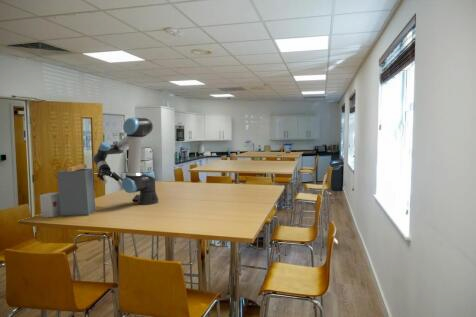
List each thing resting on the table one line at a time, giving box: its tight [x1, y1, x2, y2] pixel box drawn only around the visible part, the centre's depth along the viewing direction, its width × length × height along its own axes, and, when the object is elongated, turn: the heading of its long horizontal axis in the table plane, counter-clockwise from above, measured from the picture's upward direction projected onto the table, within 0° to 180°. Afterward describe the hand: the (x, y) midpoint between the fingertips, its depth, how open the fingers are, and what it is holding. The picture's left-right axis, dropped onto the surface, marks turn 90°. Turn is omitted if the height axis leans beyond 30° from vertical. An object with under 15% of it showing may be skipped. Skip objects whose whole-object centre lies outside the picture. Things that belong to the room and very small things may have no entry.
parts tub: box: [56, 168, 96, 218], centre depth 224 cm, size 18×13×30 cm
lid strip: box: [66, 163, 88, 172], centre depth 226 cm, size 3×24×3 cm, turn 4°
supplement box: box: [39, 192, 61, 218], centre depth 222 cm, size 9×9×15 cm
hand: (114, 184), depth 237 cm, fingers open, 13 cm apart
